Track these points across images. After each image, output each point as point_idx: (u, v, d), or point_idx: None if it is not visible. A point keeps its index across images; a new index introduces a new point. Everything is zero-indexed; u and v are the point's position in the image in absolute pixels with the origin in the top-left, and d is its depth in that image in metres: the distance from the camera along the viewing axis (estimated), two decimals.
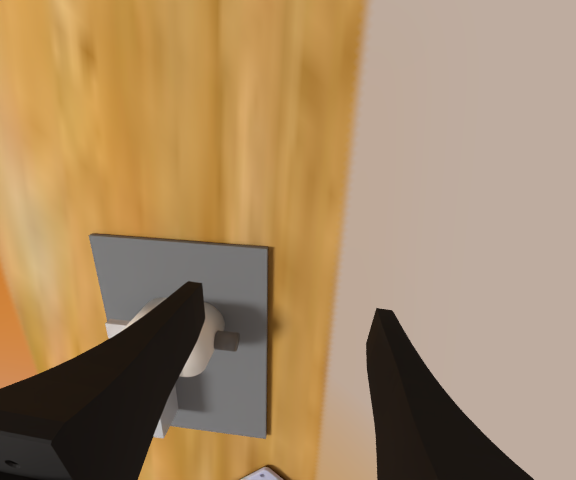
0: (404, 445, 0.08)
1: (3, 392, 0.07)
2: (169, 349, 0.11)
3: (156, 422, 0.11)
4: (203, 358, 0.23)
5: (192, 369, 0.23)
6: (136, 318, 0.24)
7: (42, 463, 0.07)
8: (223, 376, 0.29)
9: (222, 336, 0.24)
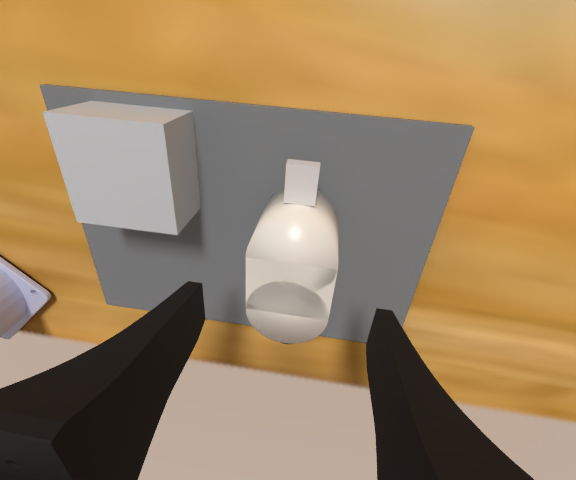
0: (404, 445, 0.08)
1: (3, 393, 0.07)
2: (169, 349, 0.11)
3: (156, 422, 0.11)
4: (283, 338, 0.16)
5: (260, 322, 0.16)
6: (336, 238, 0.14)
7: (42, 463, 0.07)
8: (202, 274, 0.20)
9: None
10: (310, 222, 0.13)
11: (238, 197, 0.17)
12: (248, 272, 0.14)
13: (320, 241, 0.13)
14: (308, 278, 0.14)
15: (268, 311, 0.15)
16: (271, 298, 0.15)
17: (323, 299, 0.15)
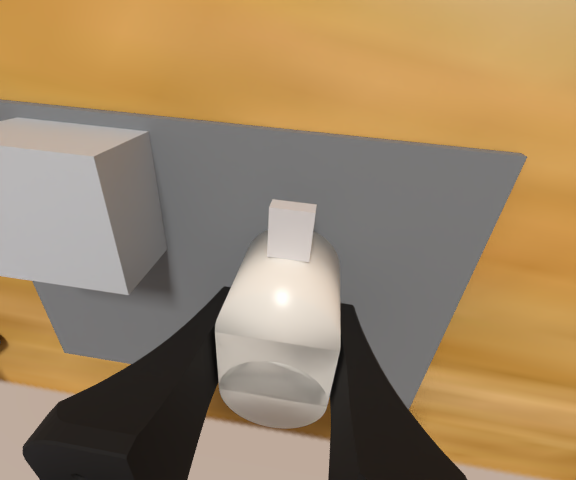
0: (344, 434, 0.08)
1: (67, 404, 0.07)
2: (212, 356, 0.11)
3: (200, 430, 0.11)
4: (268, 422, 0.13)
5: (239, 404, 0.12)
6: (338, 304, 0.11)
7: (111, 477, 0.07)
8: (174, 324, 0.16)
9: None
10: (302, 291, 0.09)
11: (213, 238, 0.13)
12: (220, 349, 0.11)
13: (315, 317, 0.09)
14: (300, 359, 0.10)
15: (248, 392, 0.12)
16: (252, 380, 0.11)
17: (320, 383, 0.11)
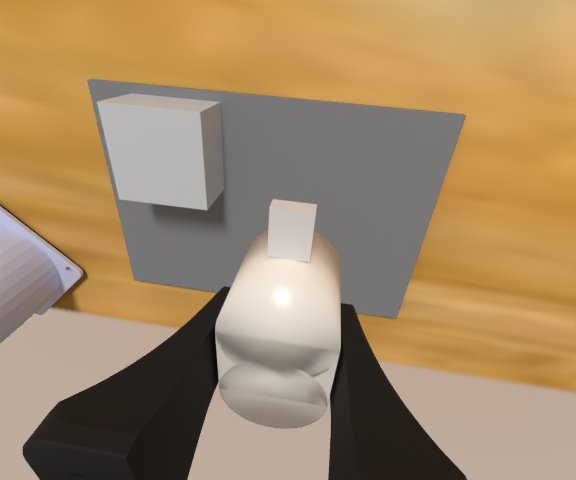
0: (344, 434, 0.08)
1: (67, 404, 0.07)
2: (212, 356, 0.11)
3: (200, 430, 0.11)
4: (269, 422, 0.13)
5: (239, 403, 0.12)
6: (338, 304, 0.11)
7: (111, 477, 0.07)
8: (223, 251, 0.22)
9: None
10: (302, 291, 0.09)
11: (258, 179, 0.19)
12: (220, 349, 0.11)
13: (316, 317, 0.09)
14: (300, 359, 0.10)
15: (248, 392, 0.12)
16: (252, 380, 0.11)
17: (320, 383, 0.11)
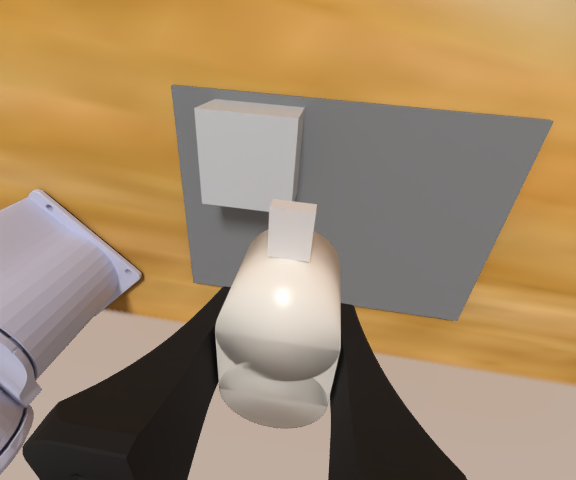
0: (344, 434, 0.08)
1: (67, 404, 0.07)
2: (212, 356, 0.11)
3: (199, 430, 0.11)
4: (269, 422, 0.13)
5: (239, 404, 0.12)
6: (338, 304, 0.11)
7: (111, 477, 0.07)
8: None
9: None
10: (302, 291, 0.09)
11: (333, 183, 0.19)
12: (220, 349, 0.11)
13: (316, 317, 0.09)
14: (300, 358, 0.10)
15: (248, 392, 0.12)
16: (252, 379, 0.11)
17: (320, 383, 0.11)
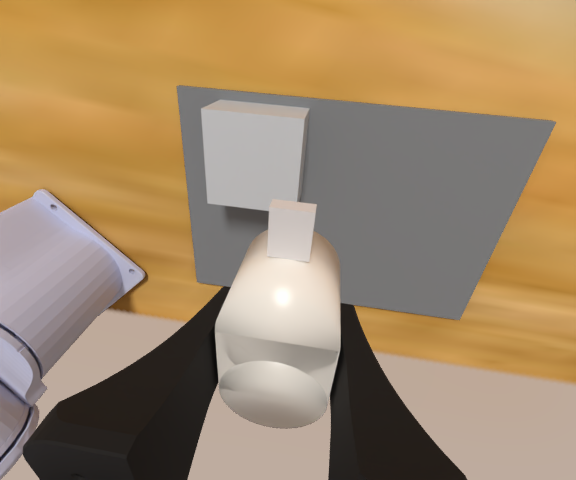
0: (344, 434, 0.08)
1: (67, 404, 0.07)
2: (212, 356, 0.11)
3: (200, 430, 0.11)
4: (268, 422, 0.13)
5: (239, 404, 0.12)
6: (338, 304, 0.11)
7: (111, 477, 0.07)
8: None
9: None
10: (302, 291, 0.09)
11: (337, 183, 0.20)
12: (219, 349, 0.11)
13: (316, 317, 0.09)
14: (300, 358, 0.10)
15: (248, 392, 0.12)
16: (252, 379, 0.11)
17: (320, 383, 0.11)
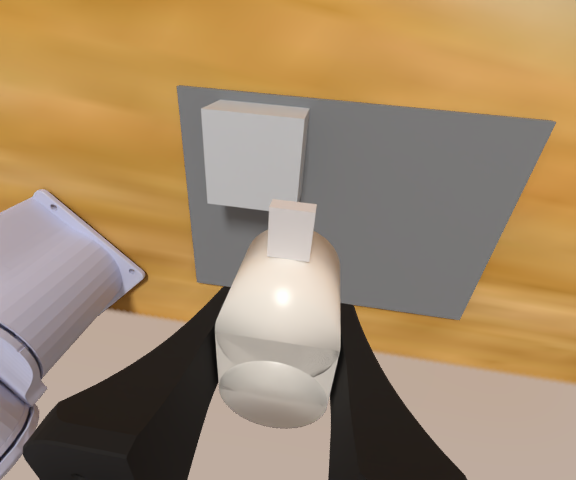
0: (344, 434, 0.08)
1: (67, 404, 0.07)
2: (212, 356, 0.11)
3: (200, 430, 0.11)
4: (268, 422, 0.13)
5: (239, 404, 0.12)
6: (338, 304, 0.11)
7: (111, 477, 0.07)
8: None
9: None
10: (302, 291, 0.09)
11: (337, 183, 0.20)
12: (219, 349, 0.11)
13: (316, 317, 0.09)
14: (300, 358, 0.10)
15: (248, 392, 0.12)
16: (252, 379, 0.11)
17: (320, 383, 0.11)
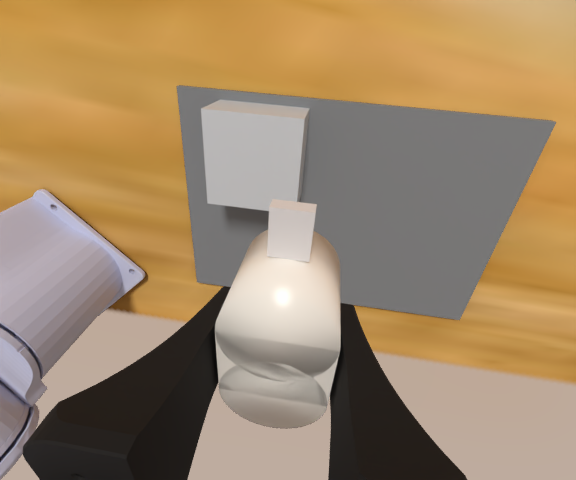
0: (344, 434, 0.08)
1: (67, 404, 0.07)
2: (212, 356, 0.11)
3: (200, 430, 0.11)
4: (268, 422, 0.13)
5: (239, 404, 0.12)
6: (338, 304, 0.11)
7: (111, 477, 0.07)
8: None
9: None
10: (302, 291, 0.09)
11: (337, 183, 0.20)
12: (219, 349, 0.11)
13: (316, 317, 0.09)
14: (300, 358, 0.10)
15: (248, 392, 0.12)
16: (252, 379, 0.11)
17: (320, 383, 0.11)
